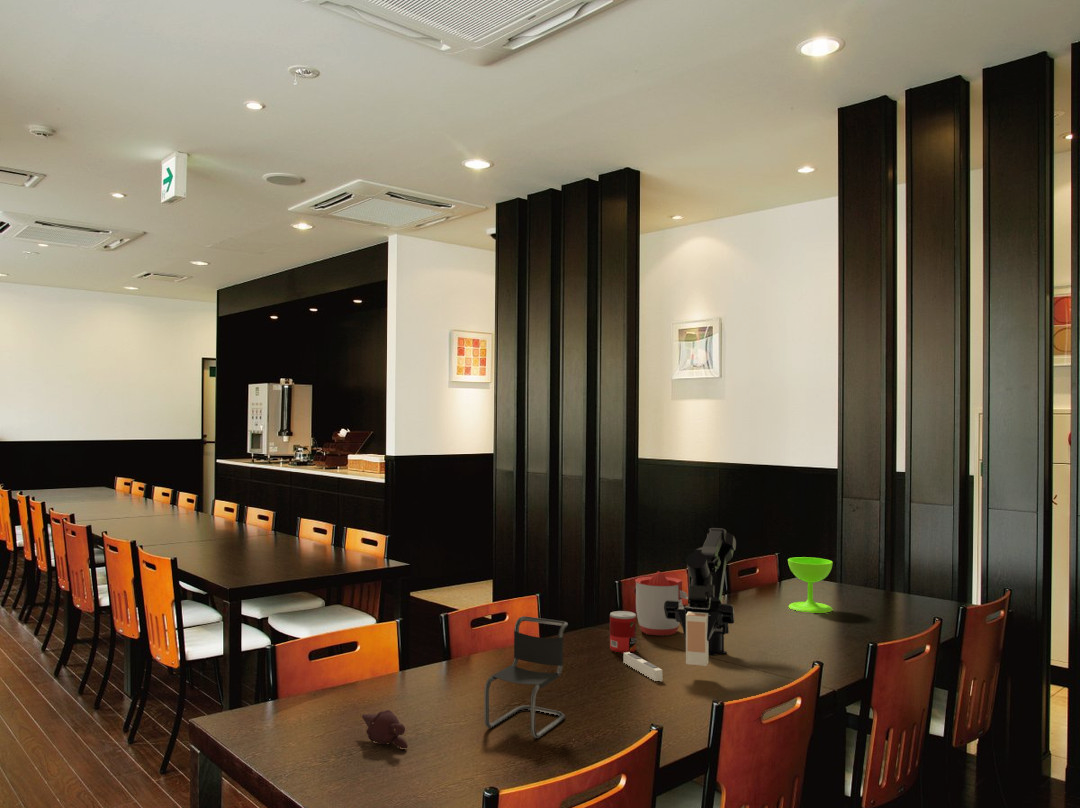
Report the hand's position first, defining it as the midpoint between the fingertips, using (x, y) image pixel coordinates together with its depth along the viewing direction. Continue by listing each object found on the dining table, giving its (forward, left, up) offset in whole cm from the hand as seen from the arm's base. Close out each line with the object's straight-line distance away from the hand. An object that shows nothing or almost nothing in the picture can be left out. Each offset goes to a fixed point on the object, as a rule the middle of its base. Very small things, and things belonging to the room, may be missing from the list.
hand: (696, 639), depth 212 cm
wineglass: (-87, -55, -11) cm, 104 cm away
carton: (-1, -1, -7) cm, 7 cm away
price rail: (+10, -11, -11) cm, 19 cm away
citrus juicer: (-17, -46, -11) cm, 50 cm away
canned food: (+5, -32, -11) cm, 34 cm away
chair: (+54, +13, -11) cm, 57 cm away
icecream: (+86, +11, -11) cm, 88 cm away
